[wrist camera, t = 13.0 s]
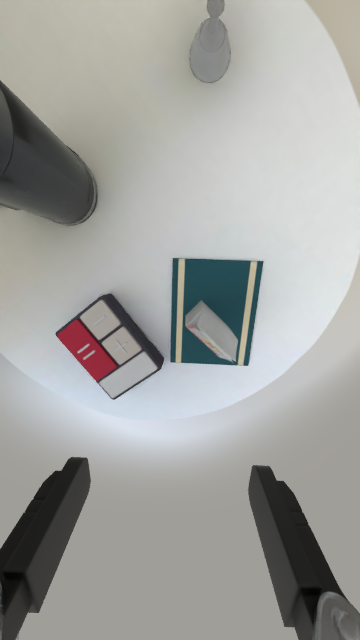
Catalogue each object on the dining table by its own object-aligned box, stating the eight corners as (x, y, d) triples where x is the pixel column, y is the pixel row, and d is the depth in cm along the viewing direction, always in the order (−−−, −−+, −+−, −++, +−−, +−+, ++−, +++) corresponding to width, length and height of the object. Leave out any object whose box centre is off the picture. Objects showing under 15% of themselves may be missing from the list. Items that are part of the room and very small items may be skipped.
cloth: (170, 361, 35) (170, 362, 35) (173, 258, 31) (172, 258, 30) (247, 364, 35) (248, 365, 35) (262, 261, 30) (263, 261, 30)
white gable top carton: (201, 299, 32) (207, 315, 22) (229, 327, 33) (246, 352, 23) (185, 315, 33) (185, 336, 23) (213, 341, 34) (224, 372, 24)
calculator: (100, 294, 29) (161, 370, 31) (112, 292, 33) (165, 359, 35) (50, 335, 31) (111, 403, 33) (67, 327, 35) (120, 389, 37)
